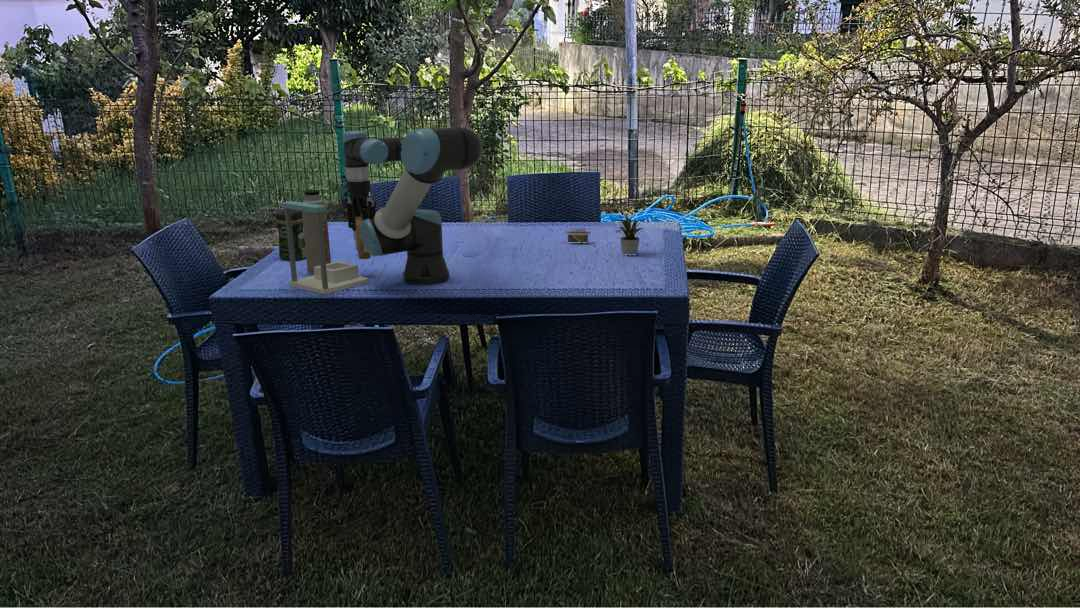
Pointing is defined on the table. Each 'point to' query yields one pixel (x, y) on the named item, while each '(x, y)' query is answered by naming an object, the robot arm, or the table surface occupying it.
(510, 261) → the table surface
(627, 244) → the house plant
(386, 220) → the robot arm
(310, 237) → the thermos bottle
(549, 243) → the table surface
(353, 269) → the cream tall frame
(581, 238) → the platform
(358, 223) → the oak peg
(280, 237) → the coffee jar
